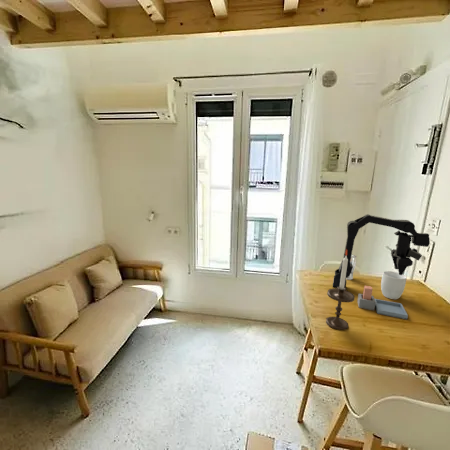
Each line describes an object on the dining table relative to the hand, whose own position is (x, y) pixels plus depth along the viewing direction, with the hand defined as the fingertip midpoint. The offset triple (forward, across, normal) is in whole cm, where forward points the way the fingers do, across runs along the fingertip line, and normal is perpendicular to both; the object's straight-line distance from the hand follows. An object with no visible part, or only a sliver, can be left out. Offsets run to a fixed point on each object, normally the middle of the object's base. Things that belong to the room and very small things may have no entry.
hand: (398, 272), depth 143 cm
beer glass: (+15, +18, +22) cm, 32 cm away
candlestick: (+15, -42, +30) cm, 54 cm away
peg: (+14, -19, +16) cm, 29 cm away
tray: (+15, -19, +6) cm, 25 cm away
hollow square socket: (+15, -19, +16) cm, 29 cm away
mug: (+15, 0, +1) cm, 15 cm away
